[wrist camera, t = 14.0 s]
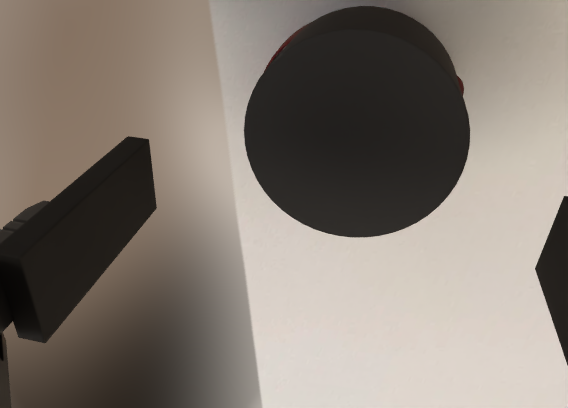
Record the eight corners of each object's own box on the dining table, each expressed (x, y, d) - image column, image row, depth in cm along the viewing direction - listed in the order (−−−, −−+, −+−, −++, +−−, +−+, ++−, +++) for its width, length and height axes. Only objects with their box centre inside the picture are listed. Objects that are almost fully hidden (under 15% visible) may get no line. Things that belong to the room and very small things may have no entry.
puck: (239, 120, 26) (207, 161, 22) (340, -39, 21) (324, -25, 17) (377, 215, 27) (371, 271, 23) (502, 84, 22) (524, 125, 18)
